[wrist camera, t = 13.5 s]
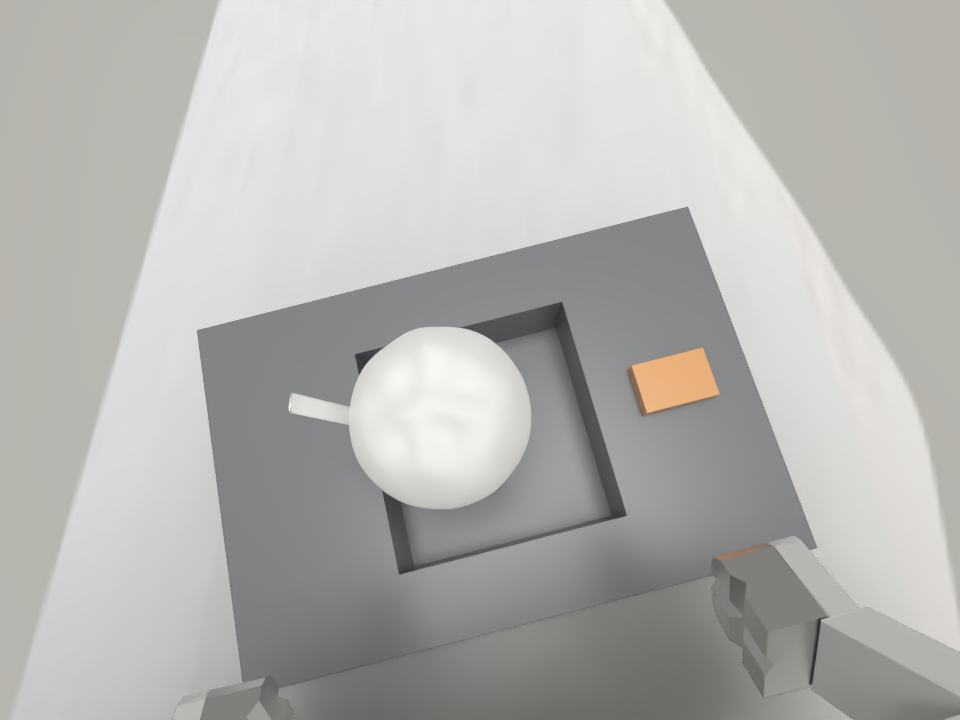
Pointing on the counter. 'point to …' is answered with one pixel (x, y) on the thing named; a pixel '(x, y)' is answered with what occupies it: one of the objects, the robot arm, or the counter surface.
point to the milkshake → (434, 417)
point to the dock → (534, 482)
